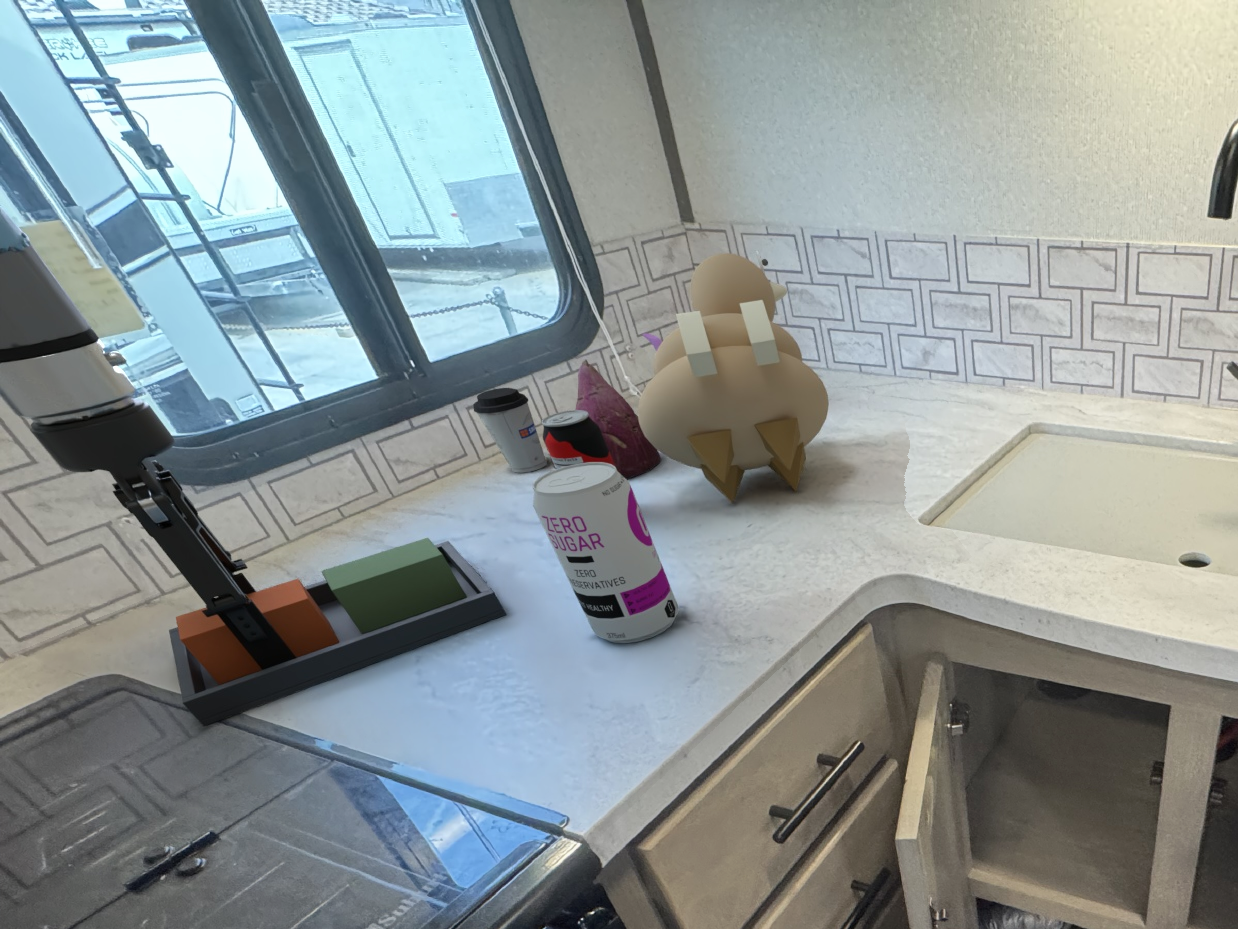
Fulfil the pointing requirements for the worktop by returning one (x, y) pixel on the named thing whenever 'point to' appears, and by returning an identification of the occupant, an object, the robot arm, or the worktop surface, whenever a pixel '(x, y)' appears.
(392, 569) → the green block
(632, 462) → the vegetable
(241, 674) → the orange block
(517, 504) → the worktop surface
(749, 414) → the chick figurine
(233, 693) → the backing tray
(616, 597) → the supplement can
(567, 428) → the beverage can
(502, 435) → the coffee cup
